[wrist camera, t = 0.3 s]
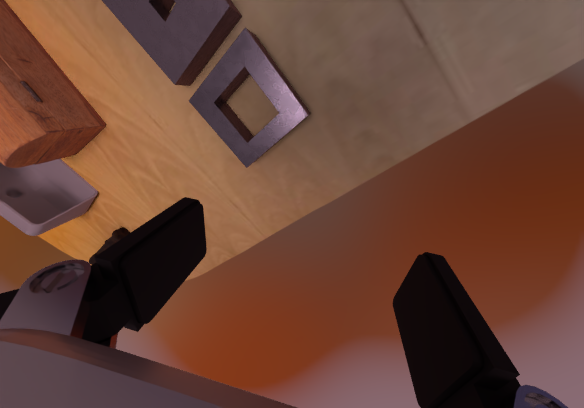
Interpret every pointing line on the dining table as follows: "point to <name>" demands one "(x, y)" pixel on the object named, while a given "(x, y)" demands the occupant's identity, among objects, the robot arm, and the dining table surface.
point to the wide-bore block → (224, 82)
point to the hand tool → (111, 242)
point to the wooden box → (37, 101)
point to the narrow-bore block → (177, 31)
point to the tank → (43, 196)
